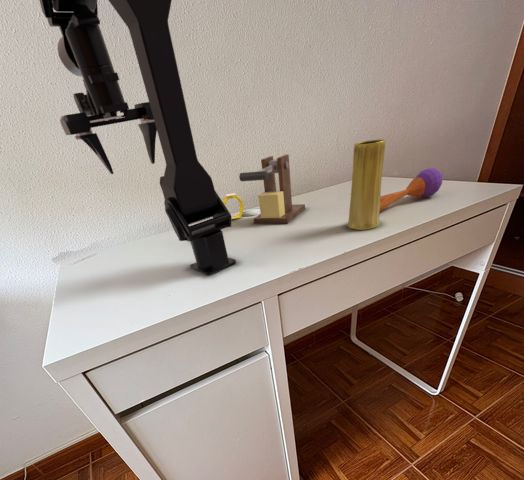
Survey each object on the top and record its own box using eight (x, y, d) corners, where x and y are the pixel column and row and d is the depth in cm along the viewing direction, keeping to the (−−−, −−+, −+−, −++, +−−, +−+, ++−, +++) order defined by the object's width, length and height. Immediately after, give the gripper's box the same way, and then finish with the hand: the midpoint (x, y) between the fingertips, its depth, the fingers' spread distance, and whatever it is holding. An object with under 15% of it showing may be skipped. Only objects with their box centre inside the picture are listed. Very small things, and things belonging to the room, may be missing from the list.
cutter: (287, 223, 68) (282, 159, 61) (254, 223, 72) (245, 163, 64) (305, 209, 76) (302, 150, 68) (274, 209, 80) (268, 154, 72)
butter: (279, 218, 69) (277, 194, 66) (261, 218, 71) (258, 195, 68) (285, 213, 71) (283, 191, 68) (266, 214, 73) (264, 192, 70)
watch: (227, 222, 76) (222, 197, 73) (222, 221, 78) (217, 196, 75) (246, 216, 79) (242, 192, 75) (241, 215, 80) (237, 191, 77)
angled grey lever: (265, 182, 59) (263, 169, 58) (240, 184, 62) (238, 171, 60) (290, 169, 68) (289, 157, 66) (267, 171, 70) (266, 160, 69)
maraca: (360, 193, 65) (425, 167, 70) (363, 221, 68) (425, 193, 73) (381, 190, 60) (448, 162, 65) (383, 220, 63) (448, 191, 68)
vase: (384, 222, 60) (394, 137, 51) (369, 231, 57) (377, 143, 48) (357, 219, 64) (362, 140, 55) (342, 228, 61) (344, 145, 52)
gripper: (131, 70, 61) (158, 157, 71) (35, 80, 54) (80, 176, 64) (151, 60, 54) (178, 159, 64) (42, 71, 47) (92, 181, 57)
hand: (133, 168), depth 63 cm, fingers open, 9 cm apart
